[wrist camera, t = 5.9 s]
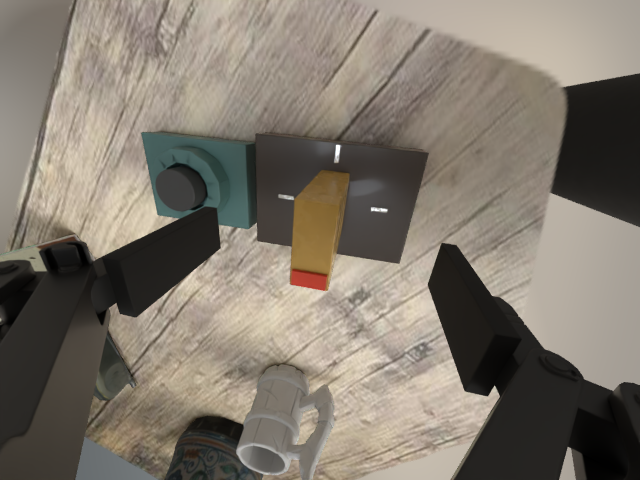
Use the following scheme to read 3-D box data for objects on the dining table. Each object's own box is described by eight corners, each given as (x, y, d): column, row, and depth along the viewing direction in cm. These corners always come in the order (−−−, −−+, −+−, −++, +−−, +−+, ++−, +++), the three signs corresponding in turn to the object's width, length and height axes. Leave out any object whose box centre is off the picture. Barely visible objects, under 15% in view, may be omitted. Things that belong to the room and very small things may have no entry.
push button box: (255, 142, 24) (236, 146, 20) (257, 221, 27) (240, 236, 24) (158, 131, 25) (123, 132, 21) (171, 208, 28) (143, 221, 25)
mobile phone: (50, 339, 35) (100, 411, 40) (67, 339, 34) (115, 413, 40) (86, 315, 39) (126, 383, 45) (102, 315, 39) (140, 384, 44)
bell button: (204, 168, 22) (191, 172, 20) (208, 208, 23) (197, 214, 22) (166, 163, 22) (151, 166, 21) (172, 203, 24) (159, 208, 22)
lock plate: (422, 149, 22) (429, 152, 19) (396, 251, 26) (399, 264, 24) (265, 132, 23) (254, 133, 21) (266, 231, 28) (256, 241, 25)
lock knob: (321, 169, 21) (292, 199, 13) (350, 173, 21) (339, 206, 13) (315, 229, 24) (288, 287, 15) (341, 233, 23) (327, 294, 15)
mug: (253, 364, 37) (208, 462, 26) (330, 357, 34) (313, 466, 23) (272, 398, 40) (238, 500, 29) (345, 395, 37) (336, 508, 26)
